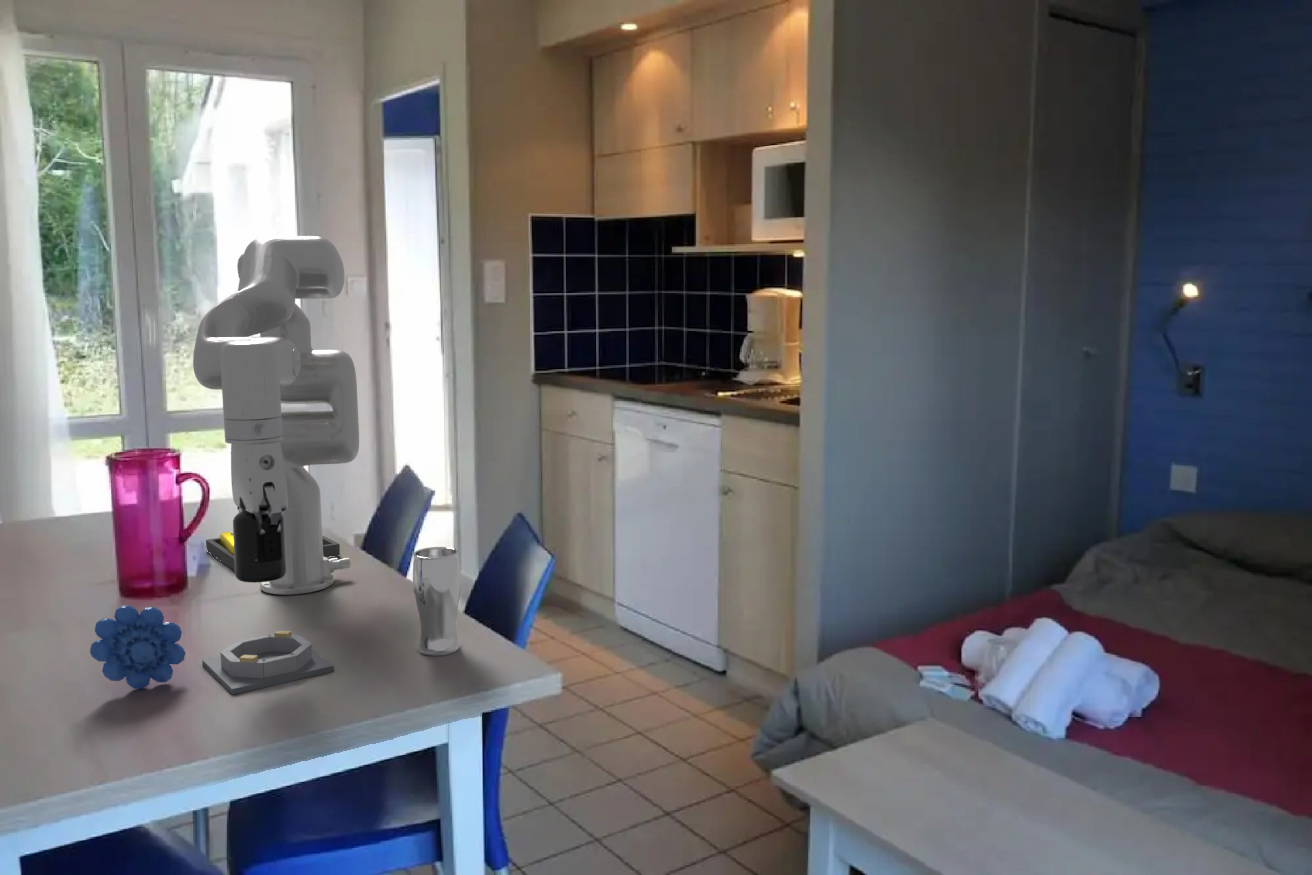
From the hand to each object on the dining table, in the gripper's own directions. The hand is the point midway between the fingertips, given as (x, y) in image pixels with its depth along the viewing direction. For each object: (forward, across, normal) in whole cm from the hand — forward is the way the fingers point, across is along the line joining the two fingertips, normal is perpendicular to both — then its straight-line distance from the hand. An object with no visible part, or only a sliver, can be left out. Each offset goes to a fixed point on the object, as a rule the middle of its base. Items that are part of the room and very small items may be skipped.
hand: (260, 554), depth 151 cm
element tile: (+17, +64, -21) cm, 70 cm away
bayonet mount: (+17, 0, 0) cm, 17 cm away
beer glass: (+17, -8, -23) cm, 30 cm away
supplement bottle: (+3, 0, 0) cm, 3 cm away
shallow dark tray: (+16, +63, -22) cm, 69 cm away
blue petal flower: (+17, +2, +16) cm, 23 cm away
